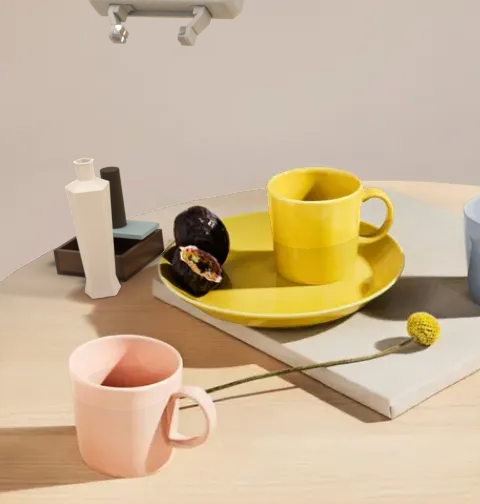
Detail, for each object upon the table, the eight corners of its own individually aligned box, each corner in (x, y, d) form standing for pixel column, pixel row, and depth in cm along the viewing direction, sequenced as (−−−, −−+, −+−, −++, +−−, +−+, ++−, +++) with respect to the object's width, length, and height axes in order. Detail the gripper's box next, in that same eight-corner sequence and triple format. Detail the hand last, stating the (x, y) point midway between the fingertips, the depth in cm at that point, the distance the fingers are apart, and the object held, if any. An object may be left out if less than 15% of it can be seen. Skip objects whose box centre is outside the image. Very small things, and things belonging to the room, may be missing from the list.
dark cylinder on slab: (75, 233, 112) (66, 172, 109) (95, 221, 116) (86, 161, 113) (141, 239, 109) (133, 177, 106) (159, 227, 113) (152, 166, 110)
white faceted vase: (72, 298, 103) (50, 166, 97) (95, 281, 107) (75, 154, 101) (109, 302, 102) (89, 169, 96) (131, 286, 106) (113, 156, 100)
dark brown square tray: (57, 274, 109) (52, 250, 108) (99, 245, 117) (96, 222, 116) (125, 281, 107) (122, 257, 106) (164, 251, 115) (162, 228, 113)
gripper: (96, -66, 121) (63, 24, 116) (243, -67, 115) (215, 28, 110) (119, -34, 126) (89, 54, 121) (260, -33, 120) (234, 59, 116)
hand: (150, 42), depth 116 cm, fingers open, 8 cm apart
